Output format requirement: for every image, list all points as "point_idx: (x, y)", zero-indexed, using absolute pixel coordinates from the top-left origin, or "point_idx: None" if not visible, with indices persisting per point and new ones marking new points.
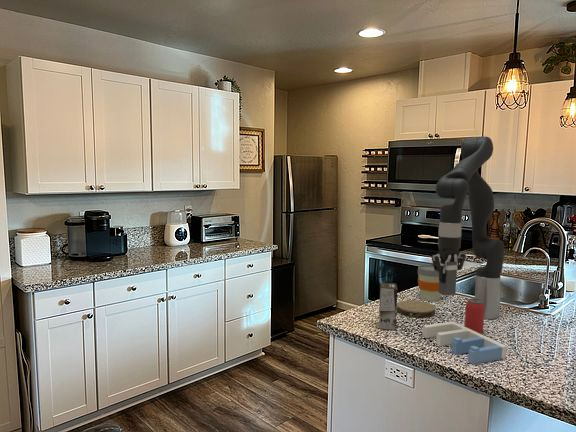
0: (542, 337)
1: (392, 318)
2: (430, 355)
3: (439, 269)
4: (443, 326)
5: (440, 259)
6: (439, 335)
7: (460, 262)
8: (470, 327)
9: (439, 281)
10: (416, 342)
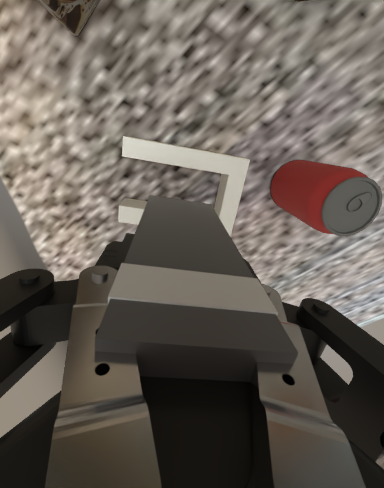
0: (372, 282)
1: (44, 4)
2: (61, 238)
3: (19, 350)
4: (191, 167)
5: (64, 381)
6: (118, 216)
7: (334, 413)
8: (276, 194)
9: (142, 217)
10: (79, 162)
